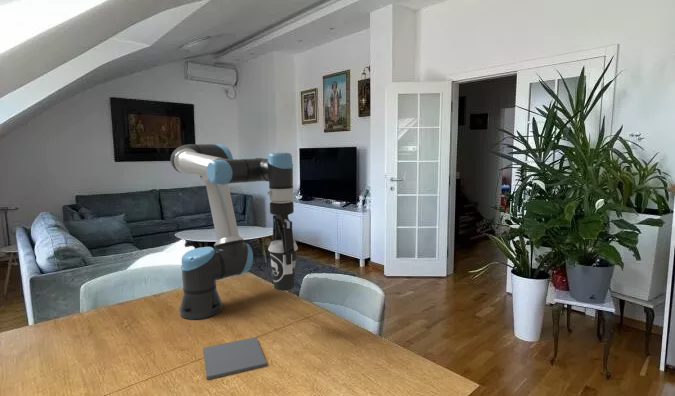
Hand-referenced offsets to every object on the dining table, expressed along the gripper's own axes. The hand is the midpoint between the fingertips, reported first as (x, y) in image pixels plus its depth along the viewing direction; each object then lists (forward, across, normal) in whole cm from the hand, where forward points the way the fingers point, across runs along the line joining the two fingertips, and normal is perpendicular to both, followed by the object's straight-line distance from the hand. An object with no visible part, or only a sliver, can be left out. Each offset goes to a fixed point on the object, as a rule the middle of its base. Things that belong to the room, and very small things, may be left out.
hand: (283, 269), depth 122 cm
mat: (+21, +9, -18) cm, 30 cm away
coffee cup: (+6, 0, 0) cm, 6 cm away
